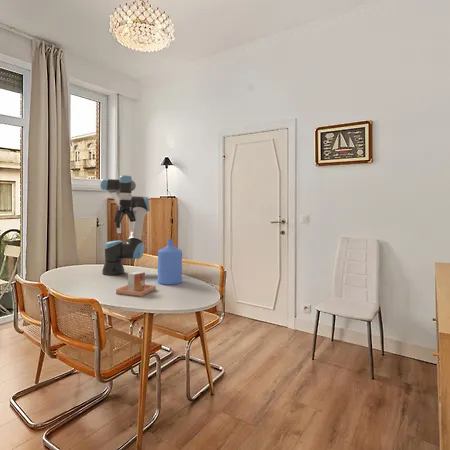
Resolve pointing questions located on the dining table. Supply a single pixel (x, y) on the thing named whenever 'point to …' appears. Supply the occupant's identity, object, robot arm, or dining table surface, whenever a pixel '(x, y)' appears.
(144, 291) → the holder
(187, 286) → the dining table surface
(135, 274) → the small box
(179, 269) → the water jug
